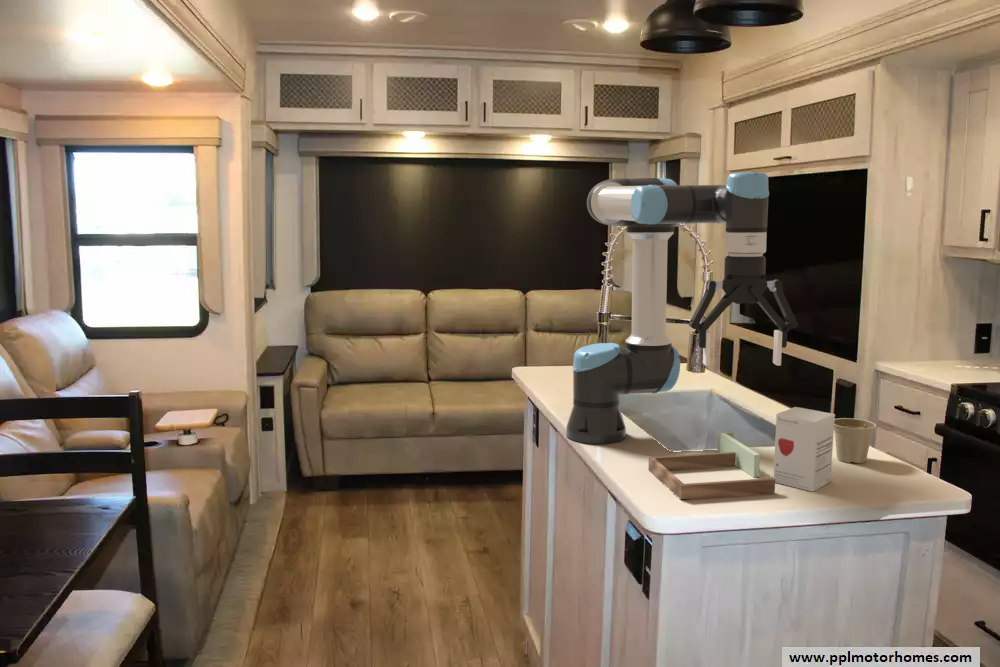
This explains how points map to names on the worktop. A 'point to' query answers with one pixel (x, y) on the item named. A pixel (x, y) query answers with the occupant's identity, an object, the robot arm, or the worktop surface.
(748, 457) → the green piece
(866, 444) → the flower pot
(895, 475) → the worktop surface
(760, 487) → the housing
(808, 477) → the supplement box
